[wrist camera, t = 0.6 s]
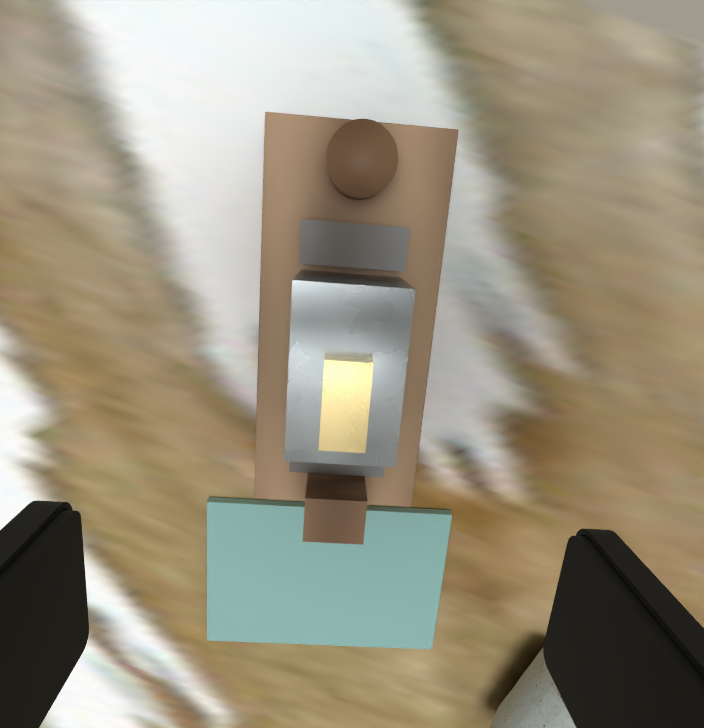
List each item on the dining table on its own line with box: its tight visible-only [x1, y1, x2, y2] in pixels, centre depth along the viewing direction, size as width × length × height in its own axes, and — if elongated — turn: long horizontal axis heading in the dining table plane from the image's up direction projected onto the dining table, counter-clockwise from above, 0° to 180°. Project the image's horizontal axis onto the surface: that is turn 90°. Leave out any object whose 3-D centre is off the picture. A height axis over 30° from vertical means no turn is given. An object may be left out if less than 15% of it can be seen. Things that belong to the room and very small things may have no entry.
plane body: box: [254, 112, 458, 545], centre depth 25 cm, size 9×20×8 cm, turn 176°
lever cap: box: [284, 270, 416, 468], centre depth 23 cm, size 5×8×6 cm, turn 176°
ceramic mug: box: [491, 648, 576, 728], centre depth 34 cm, size 11×8×8 cm
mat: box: [207, 497, 452, 649], centre depth 34 cm, size 16×11×1 cm
